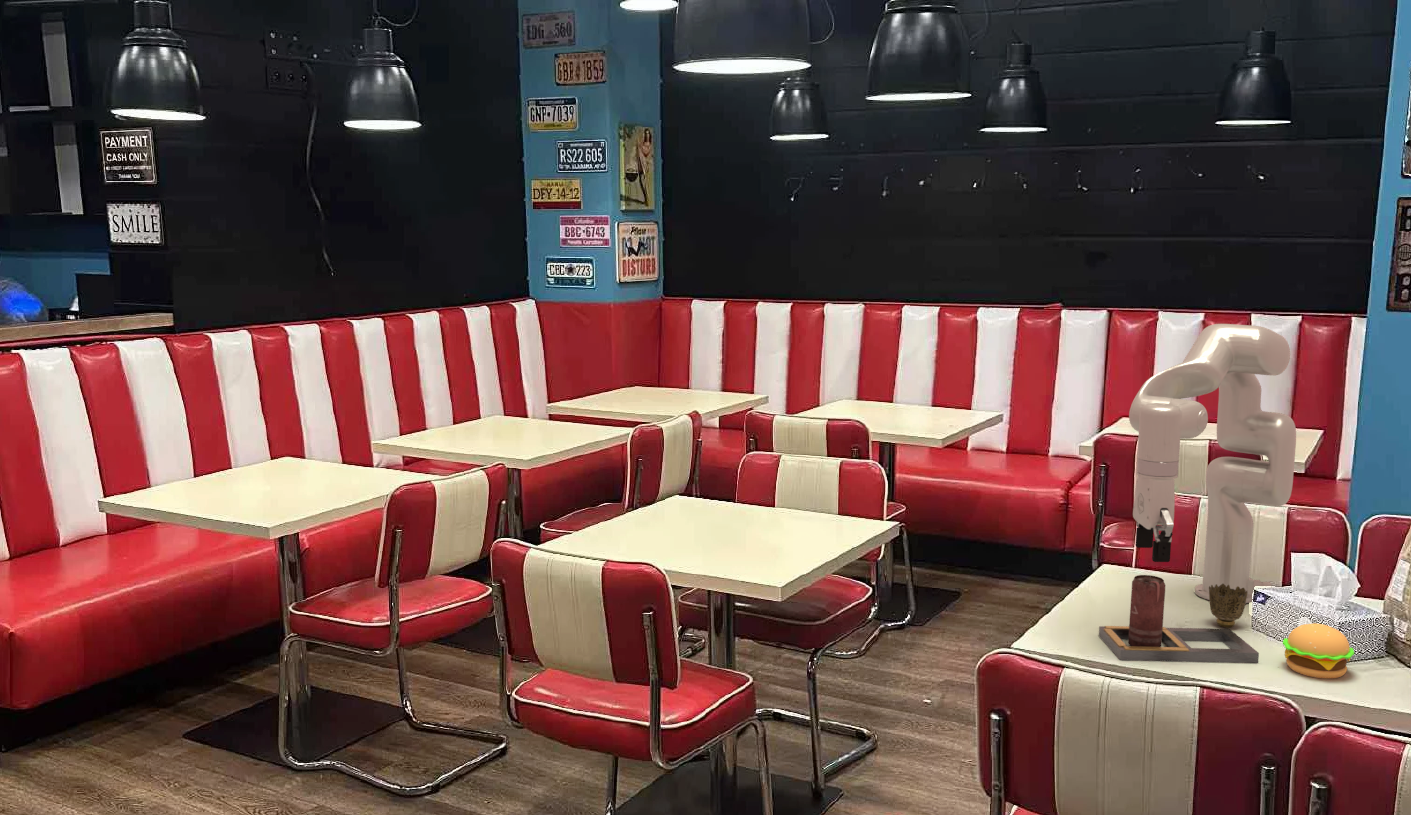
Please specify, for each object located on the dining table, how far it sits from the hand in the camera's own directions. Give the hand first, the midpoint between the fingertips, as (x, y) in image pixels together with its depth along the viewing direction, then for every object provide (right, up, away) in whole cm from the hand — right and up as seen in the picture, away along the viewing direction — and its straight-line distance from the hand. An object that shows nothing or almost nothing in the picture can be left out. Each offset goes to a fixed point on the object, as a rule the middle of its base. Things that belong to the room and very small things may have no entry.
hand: (1152, 554), depth 236 cm
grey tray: (+5, -19, +2) cm, 20 cm away
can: (0, -19, +3) cm, 19 cm away
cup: (+21, -17, +17) cm, 32 cm away
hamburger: (+28, -21, -8) cm, 36 cm away
